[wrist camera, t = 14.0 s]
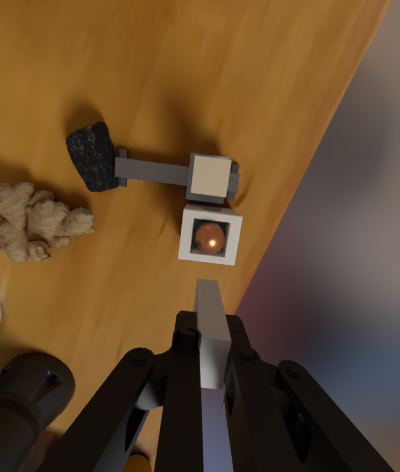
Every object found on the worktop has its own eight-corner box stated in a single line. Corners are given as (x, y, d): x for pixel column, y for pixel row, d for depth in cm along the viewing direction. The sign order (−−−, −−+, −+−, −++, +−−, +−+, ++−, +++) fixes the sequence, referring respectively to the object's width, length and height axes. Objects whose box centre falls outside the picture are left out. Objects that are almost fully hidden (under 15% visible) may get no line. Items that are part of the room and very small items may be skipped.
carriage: (186, 197, 39) (181, 203, 26) (191, 155, 37) (188, 141, 25) (220, 202, 39) (231, 209, 26) (226, 160, 37) (241, 148, 25)
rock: (88, 195, 39) (69, 197, 33) (67, 134, 37) (44, 125, 31) (126, 186, 39) (114, 186, 33) (108, 124, 36) (92, 113, 31)
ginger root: (-25, 232, 39) (-71, 235, 31) (37, 164, 40) (8, 151, 32) (54, 285, 42) (30, 299, 34) (109, 220, 43) (99, 220, 35)
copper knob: (194, 241, 36) (193, 252, 30) (197, 216, 35) (197, 223, 29) (218, 244, 36) (222, 255, 30) (222, 219, 35) (227, 226, 29)
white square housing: (182, 241, 41) (178, 258, 31) (187, 200, 39) (184, 206, 29) (225, 246, 41) (234, 265, 31) (231, 206, 39) (243, 213, 30)
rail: (119, 185, 38) (114, 185, 36) (121, 149, 37) (115, 147, 35) (232, 200, 39) (235, 201, 37) (238, 165, 38) (241, 164, 35)
